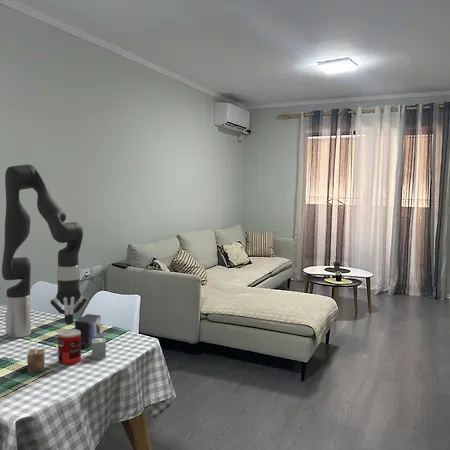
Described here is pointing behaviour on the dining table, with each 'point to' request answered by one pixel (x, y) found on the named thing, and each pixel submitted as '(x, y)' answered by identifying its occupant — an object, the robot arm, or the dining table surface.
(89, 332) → the small box
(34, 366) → the walnut digit block
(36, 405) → the dining table surface
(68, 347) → the canned food
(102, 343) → the slate digit block
